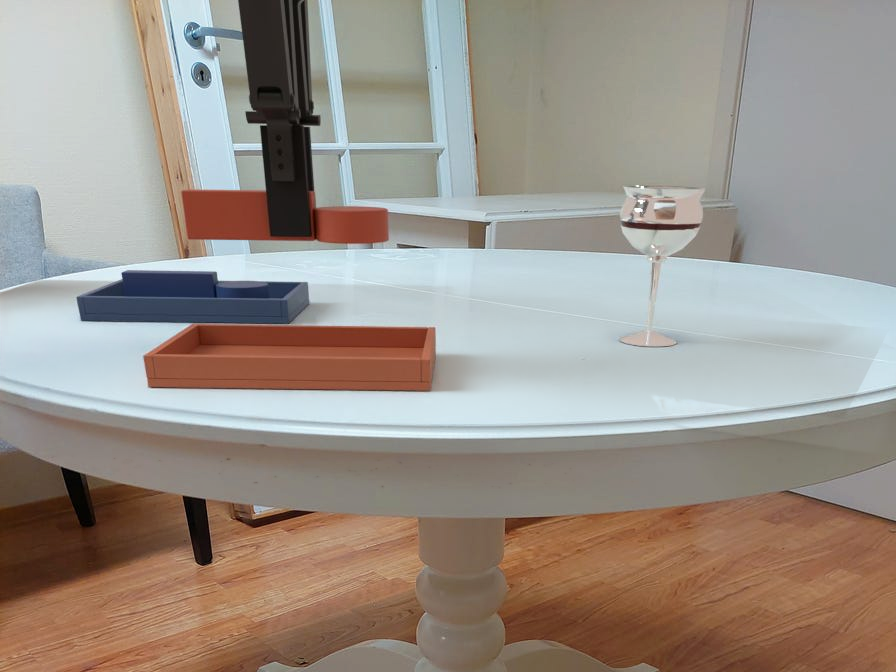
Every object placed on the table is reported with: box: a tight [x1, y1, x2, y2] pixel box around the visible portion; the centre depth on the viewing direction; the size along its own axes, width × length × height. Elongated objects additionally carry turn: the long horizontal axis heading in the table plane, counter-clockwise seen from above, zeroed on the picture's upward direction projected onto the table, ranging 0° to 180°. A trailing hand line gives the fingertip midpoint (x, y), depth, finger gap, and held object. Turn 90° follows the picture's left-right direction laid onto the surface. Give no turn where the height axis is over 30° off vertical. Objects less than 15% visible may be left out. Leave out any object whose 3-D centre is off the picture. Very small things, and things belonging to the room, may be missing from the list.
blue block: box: [120, 269, 269, 299], centre depth 86 cm, size 14×5×3 cm, turn 91°
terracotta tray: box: [142, 323, 437, 392], centre depth 65 cm, size 19×12×2 cm, turn 91°
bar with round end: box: [180, 188, 390, 245], centre depth 61 cm, size 14×5×3 cm, turn 90°
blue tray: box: [75, 278, 310, 325], centre depth 87 cm, size 19×12×2 cm, turn 91°
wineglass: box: [618, 185, 707, 348], centre depth 75 cm, size 7×7×12 cm
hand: (294, 234), depth 61 cm, fingers closed on bar with round end, 2 cm apart
